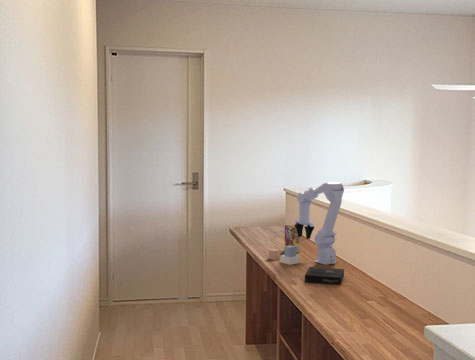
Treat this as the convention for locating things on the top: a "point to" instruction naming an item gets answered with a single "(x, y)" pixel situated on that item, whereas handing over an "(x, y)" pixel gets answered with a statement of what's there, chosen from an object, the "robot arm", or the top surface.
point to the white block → (289, 259)
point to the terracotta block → (274, 254)
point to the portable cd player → (324, 275)
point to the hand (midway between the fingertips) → (304, 237)
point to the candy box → (292, 237)
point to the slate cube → (290, 251)
